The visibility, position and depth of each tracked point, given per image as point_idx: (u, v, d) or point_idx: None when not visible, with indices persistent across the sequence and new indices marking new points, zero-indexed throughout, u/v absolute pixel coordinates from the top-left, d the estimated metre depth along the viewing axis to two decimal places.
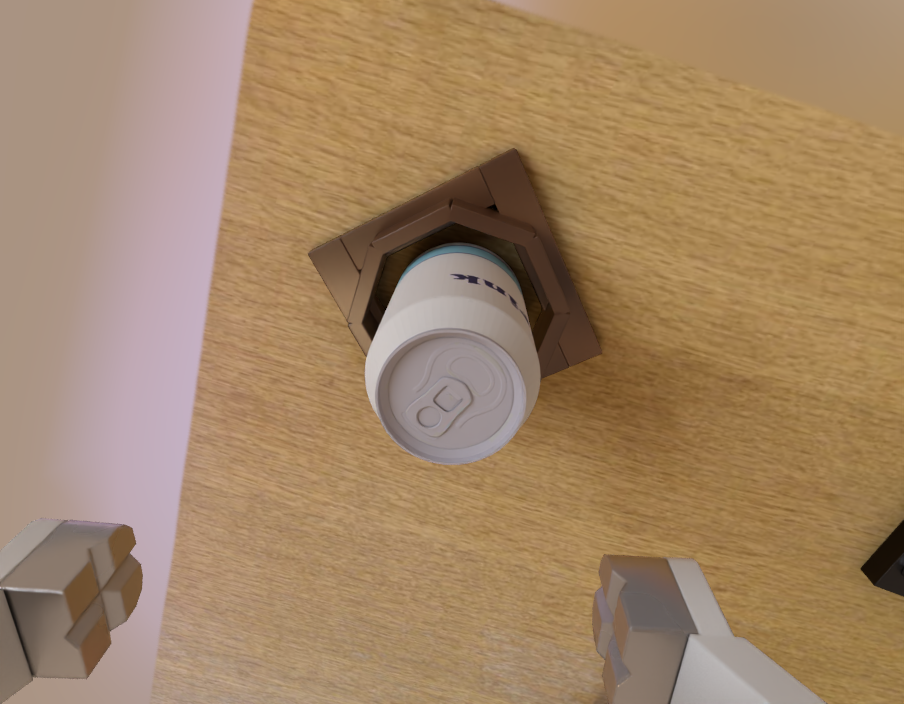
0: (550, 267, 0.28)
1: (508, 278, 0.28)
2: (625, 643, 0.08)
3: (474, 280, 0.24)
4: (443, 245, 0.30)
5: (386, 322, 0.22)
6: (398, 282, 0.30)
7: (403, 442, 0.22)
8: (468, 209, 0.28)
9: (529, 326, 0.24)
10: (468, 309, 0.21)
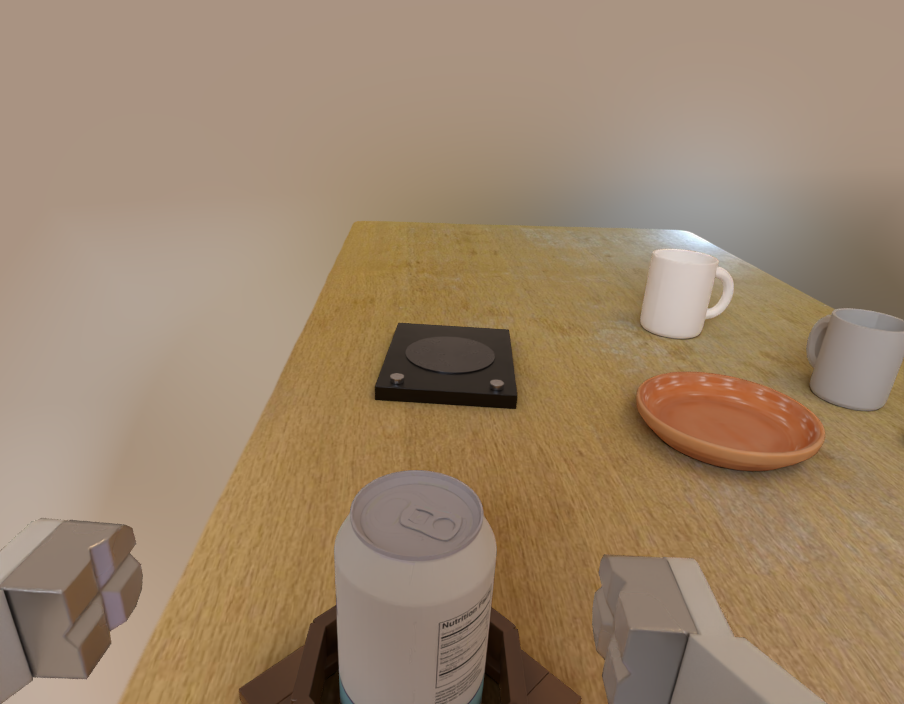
0: None
1: None
2: (625, 643, 0.08)
3: None
4: None
5: (374, 597, 0.22)
6: None
7: (475, 531, 0.24)
8: None
9: None
10: (340, 536, 0.24)
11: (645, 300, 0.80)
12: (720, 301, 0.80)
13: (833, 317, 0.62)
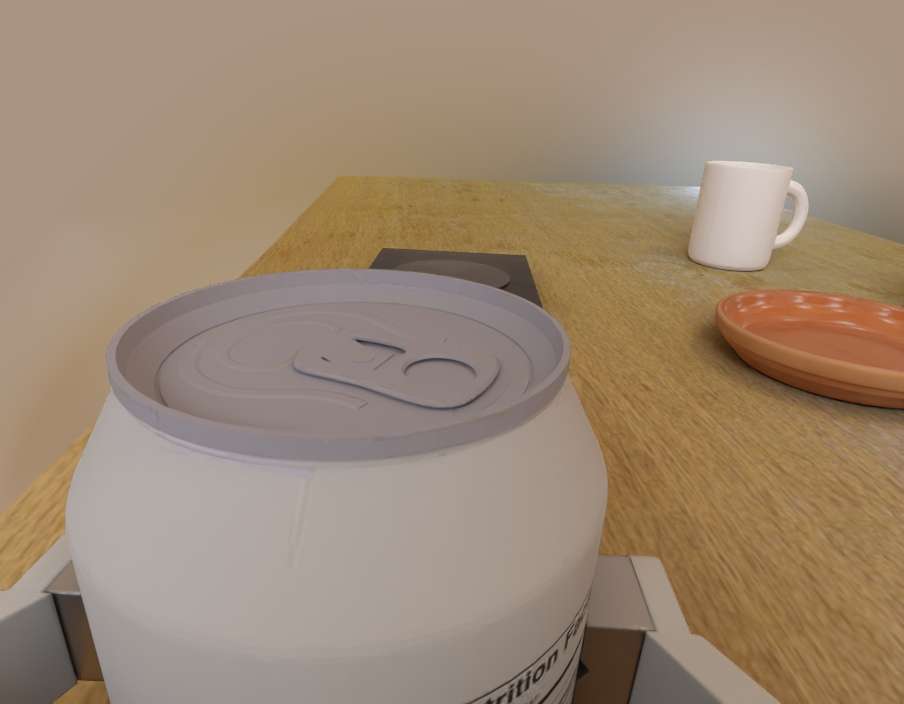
0: None
1: None
2: (583, 640, 0.08)
3: None
4: None
5: (147, 621, 0.05)
6: None
7: None
8: None
9: None
10: None
11: (696, 224, 0.63)
12: (790, 226, 0.63)
13: None
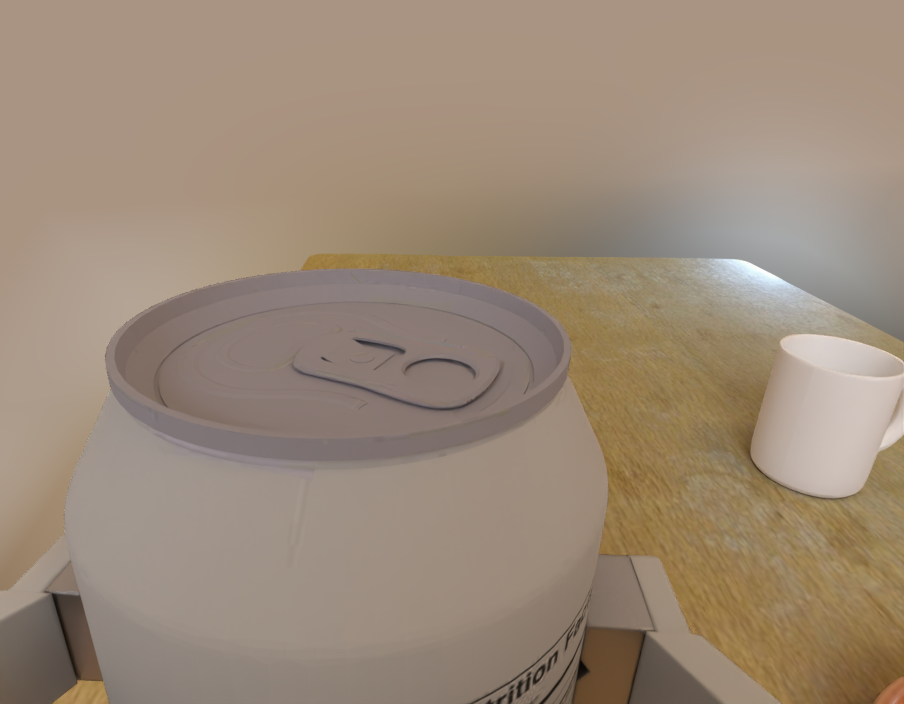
0: None
1: None
2: (583, 640, 0.08)
3: None
4: None
5: (146, 622, 0.05)
6: None
7: None
8: None
9: None
10: None
11: (765, 426, 0.46)
12: (892, 425, 0.47)
13: None
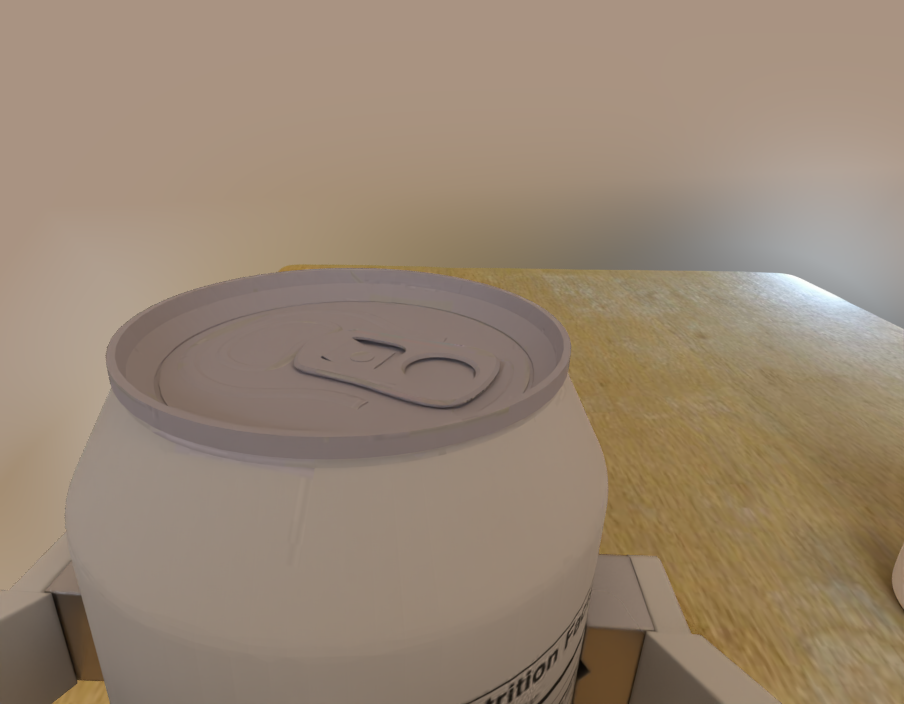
0: None
1: None
2: (583, 640, 0.08)
3: None
4: None
5: (147, 621, 0.05)
6: None
7: None
8: None
9: None
10: None
11: None
12: None
13: None
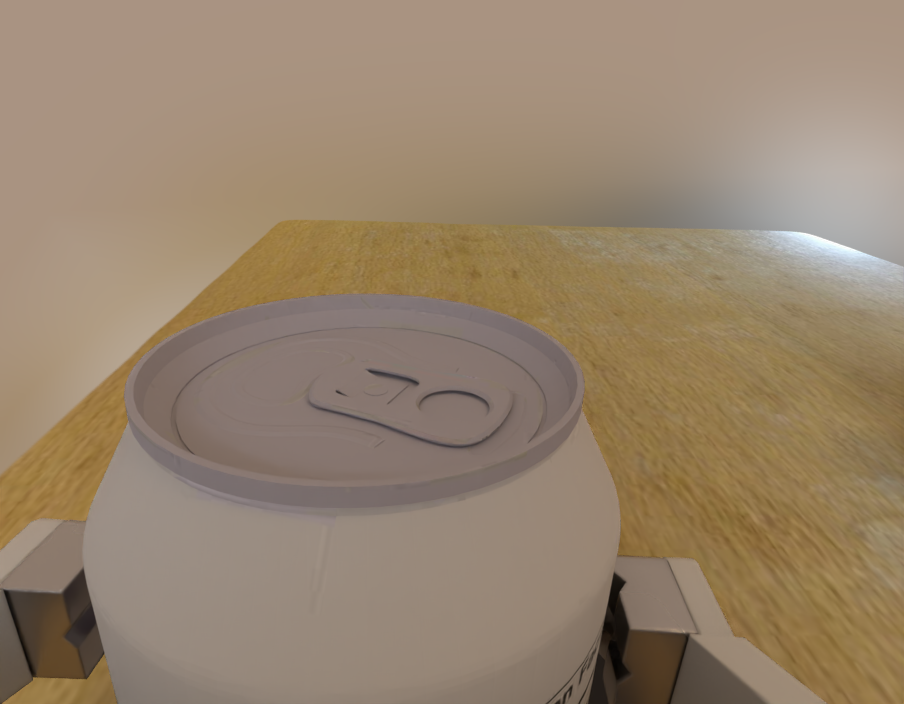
0: None
1: None
2: (625, 643, 0.08)
3: None
4: None
5: (169, 666, 0.05)
6: None
7: None
8: None
9: None
10: None
11: None
12: None
13: None
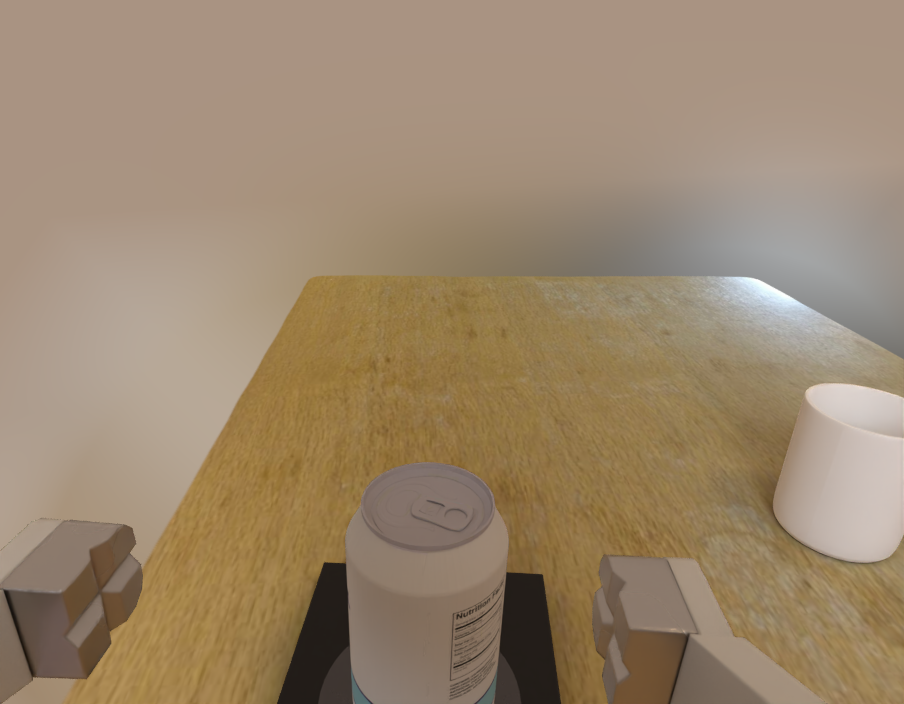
0: None
1: None
2: (625, 643, 0.08)
3: None
4: None
5: (387, 589, 0.22)
6: None
7: (487, 521, 0.23)
8: None
9: None
10: (351, 528, 0.24)
11: (790, 483, 0.43)
12: None
13: None
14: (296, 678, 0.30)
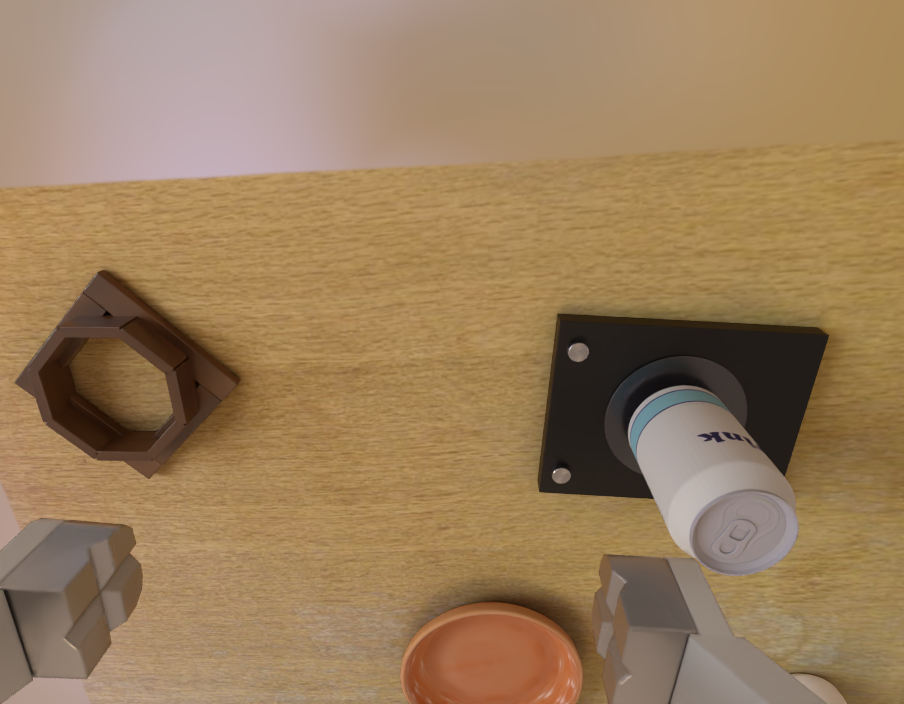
0: (142, 345, 0.40)
1: (725, 412, 0.37)
2: (625, 643, 0.08)
3: (718, 437, 0.33)
4: (658, 394, 0.40)
5: (677, 491, 0.32)
6: (635, 431, 0.40)
7: (714, 567, 0.32)
8: (71, 326, 0.40)
9: None
10: (737, 471, 0.31)
11: None
12: None
13: None
14: (703, 336, 0.40)
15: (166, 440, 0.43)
